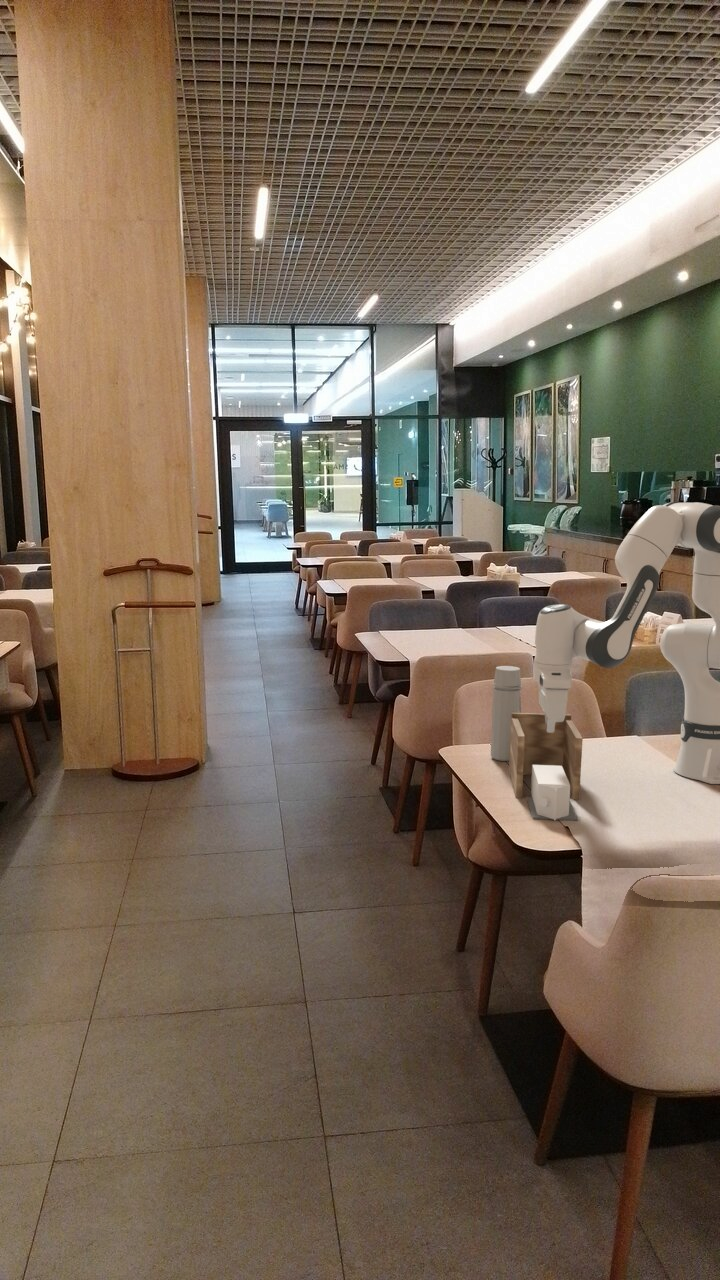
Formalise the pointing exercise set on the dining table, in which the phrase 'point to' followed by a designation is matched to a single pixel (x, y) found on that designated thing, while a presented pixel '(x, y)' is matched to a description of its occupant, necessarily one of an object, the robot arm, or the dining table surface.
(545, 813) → the milk carton
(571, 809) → the mat
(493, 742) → the water bottle
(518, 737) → the shelf bay
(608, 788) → the dining table surface
